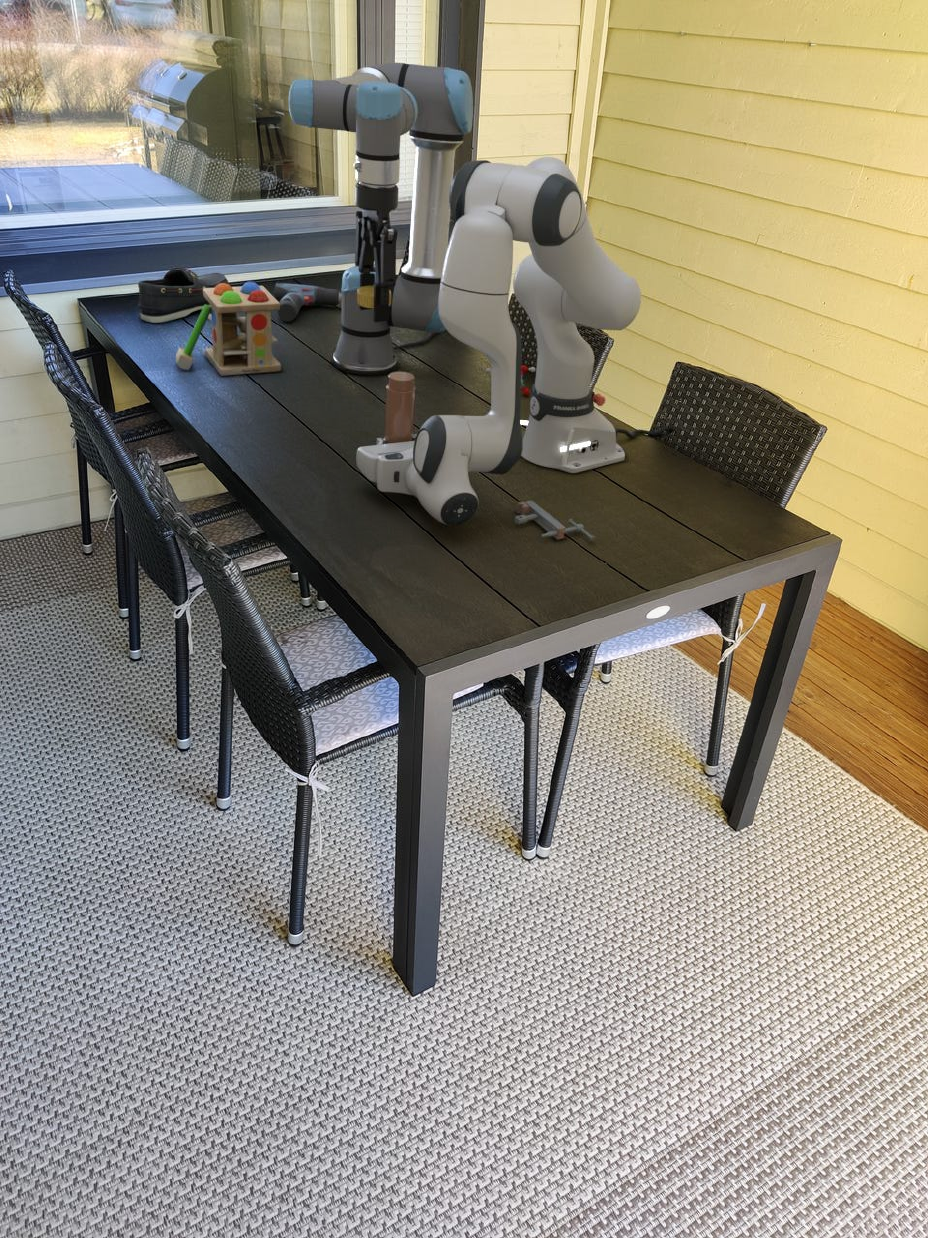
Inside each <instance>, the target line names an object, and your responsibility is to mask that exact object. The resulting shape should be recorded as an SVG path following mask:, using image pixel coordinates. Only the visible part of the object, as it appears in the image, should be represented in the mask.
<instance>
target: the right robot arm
mask: <svg viewBox="0 0 928 1238" xmlns="http://www.w3.org/2000/svg"><path fill="white" fill-rule="evenodd" d="M449 205H450V215H451V217H452V219H453V221H454V225H453V228H452V232H451V235H450V237H449V240H448V245H447V252H446V256H445V260H444V265H443V270H442V276H441V283H440V290H439V298H438V311H439V316H440V319H441V322H442V324H443V325H444V327H445V328H446V330H445V331H447V332H448V334H450V335H451V336H452V337H453V338H455V339H456V340H457V341H459V342H461V343H462V344H464V345H466V346H468V347H469V348H472V349H474V350H476V351H478V352H479V353H481V354H483V355H484V356H485V357H486V359H488V362H489V364H490V369H491V372H490V373H491V379H490V386H491V387H490V410H489V412H487V414H485V415H460V414H437V415H436V414H434V415H432V416H430V417H428V418H427V419H426V420H425V422H424V423H422V425H421V427H420V428H419V429H418V431H417V433H413V441H408V442H399V443H390V444H387V440H386V439H385V438H384V437H377V438H376V444H373V445H365V446H364V445H363V446H359V447H358V448H357V450H356V455H355V456H356V459H355V460H356V462H355V463H356V467H357V468H358V470H359V471H360V472H361V474H362V475H363V476H364V477H365V478H367V480H368V481H371V482H372V483H375V484H376V487H377V490H378V491H380V492H382V493H398V494H405V495H408V496H414V497H415V498H416V499H417V500H418V502H419V504H420V505H421V506H422V507H423V509H424V510H425V511H426V512H427V513H428V514H429V515H430V516H431V517H433V519H434V520H436V521H438V522H439V523H441V524H444V525H446V526H457V525H462V524H465V523H467V522H468V521H469V520H470V519H472V518H473V517H474V516H475V515H476V514H477V511H478V510H479V505H480V502H479V497H478V495H477V493H476V491H475V490H474V488H473V486H472V485H471V482H470V478H469V473H482V474H492V475H493V474H494V475H504V474H507V473H508V472H509V471H511V470H512V468H513V467H515V465H516V464H517V463H518V462H519V461H520V459H521V457H522V458H523V459H524V460H526V461H528V462H530V463H532V464H535V465H538V466H540V467H544V468H550V469H555V470H556V469H557V470H560V471H562V472H566V473H570V474H577V473H581V472H584V471H589V470H594V469H597V468H600V467H604V466H607V465H611V464H617V463H620V462H623V461H625V458H626V453H625V451H624V449H623V448H622V447H621V445H619V444H618V443H617V437H618V433H619V434H624V435H625V436H626V437H628V438H630V439H634V438H635V437H636V436H637V435H640V434H641V435H646V436H658V435H660V434H662V433H664V432H666V431H667V430H669V431H670V432H672V433H673V432H676V431H675V428H674V427H673V426H672V428H670V429H668V428H669V427H668V426H669V425H665V426H663V427H661V428H660V429H658V430H654V431H652V430H646V429H635V430H633V431H632V433H631V432H629V431H628V430H626V429H623V428H615V427H614V425H613V423H612V422H611V421H609V419H608V418H607V417H605V416H604V415H603V414H602V413H601V412H600V411H599V410H598V409H597V408H596V407H595V404H596V405H597V406H598V407H602V406H604V405H605V404H606V397H605V396H603V395H602V394H601V393H595V391H594V390H592V389H591V384H592V378H593V372H594V365H595V353H594V351H593V349H592V347H591V345H590V344H589V343H588V342H587V341H586V340H585V339H584V338H583V337H582V336H581V334H580V332H579V330H578V327H577V325H580V326H584V327H588V328H591V329H595V330H602V331H603V330H605V331H623V330H625V329H626V328H628V327H629V326H630V325H631V324H632V323H633V322H634V321H635V320H636V318H637V316H638V314H639V312H640V309H641V304H642V293H641V292H642V291H641V288H640V285H639V282H638V281H637V280H636V279H635V278H634V277H632V276H631V275H629V274H628V273H626V272H625V271H624V270H623V269H621V268H620V267H619V266H618V265H617V264H616V263H615V262H614V261H613V260H612V259H611V257H610V256H608V254H607V253H606V252H605V250H604V249H603V248H602V246H601V245H600V243H599V242H598V241H597V239H596V237H595V235H594V232H593V229H592V225H591V222H590V219H589V215H588V211H587V207H586V203H585V200H584V197H583V194H582V191H581V189H580V187H579V185H578V181H577V180H576V178H575V176H574V174H573V172H572V170H571V169H570V167H569V165H568V164H567V163H565V162H564V161H563V160H561V159H559V158H557V157H553V156H544V157H539V158H536V159H534V160H532V161H530V162H529V163H528V164H527V165H523V164H519V165H517V164H512V163H502V162H491V161H489V160H486V159H485V160H483V159H482V160H481V159H480V160H479V159H478V160H470V161H467V162H465V163H464V164H462V165H461V166H460V168H459V169H458V170H457V171H456V173H455V174H454V175H453V180H452V183H451V186H450V192H449ZM514 242H521V243H528V246H529V249H530V252H531V254H529V255H527V256H526V257H524V258H523V259H522V260H521V261H520V262H519V264H518V265H517V267H516V268H515V269H516V270H515V271H514V275H513V263H514V262H513V261H514ZM512 276H513V280H512ZM511 285H512V287H513V294H514V296H515V299H516V301H517V302H518V303H519V305H520V306H521V307H522V308H523V309H524V311H525V312H526V314H527V316H528V318H529V321H530V322H531V325H532V328H533V331H534V336H535V340H536V347H537V348H536V350H537V358H536V368H535V379H534V384H532V387H531V391H530V399H529V400H530V401H529V416H528V419H527V420H523V419H521V410H522V409H521V407H522V406H521V405H522V403H521V402H522V389H521V386H522V385H521V370H522V366H523V365H522V363H523V361H522V360H523V356H522V338H521V333H520V330H519V327H518V326H517V325H516V324H515V323H513V322H512V319H511V316H510V310H509V309H510V308H509V298H510V291H511ZM522 425H523V426H526V428H525V430H524V434H523V432H522Z"/></svg>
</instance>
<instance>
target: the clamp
mask: <svg viewBox="0 0 928 1238" xmlns="http://www.w3.org/2000/svg"><path fill="white" fill-rule="evenodd" d="M516 513H517V514H520V515H514V523H515V524H516V525H523V524H526V523H528V522H529V521H534V522H535V523H537V525H539V526H540V527H541V528H543V530H544V531H546V533H543V534H540V537H541V538H547V537H548V538H550V537H553V538H554V539H556V540H562V539H564V538H565V534H568V533H572V532H575V533H578V532H581V533H582V534H584V535H585V536H587V537H588V538H589V540H590V541H591V542H593V541H595V539H596V536H595V535H591V533H589V532H587V530H585V526H584V524H582V523H578V524H577V523H576V522H574V520H573V519H572V518H569V519H568V520H567V523H568V524H570V525H572V526H570V527H565V525H564V524H562V523H561V522H559V521H558V520H557V519H556V518H554V517H553V516H552V515H551V514H550V513H549V512H548V511H546V510H545V509H543V508H542V507H541V506H540V505H539V504H537V503H536V502H535V501H534V500H527V501H519V502H518V503H517V510H516Z"/></svg>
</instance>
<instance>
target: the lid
mask: <svg viewBox="0 0 928 1238" xmlns="http://www.w3.org/2000/svg"><path fill="white" fill-rule="evenodd" d="M357 302H358V304H359V305H360V306H363V307H366V308H373V309H374V287H373V286H363V287H360V288H359V289H358V292H357ZM390 305H391V291H390V290H389V306H390Z"/></svg>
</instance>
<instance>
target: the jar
mask: <svg viewBox="0 0 928 1238" xmlns="http://www.w3.org/2000/svg"><path fill="white" fill-rule="evenodd" d="M387 378H388V382H387V384H386V386H385V387H386V388H385V409H384V410H385V412H384V413H385V415H384V437H383V438H385V439H386V440H387V444H390V443H399V442H408V441H413V434H414V424H415V405H416V390H417V389H416V387H417V386H416V385H415V382H416V379H415V376H414V374H412V373H411V372H407V371H392V372H389V373H388V375H387Z"/></svg>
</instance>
